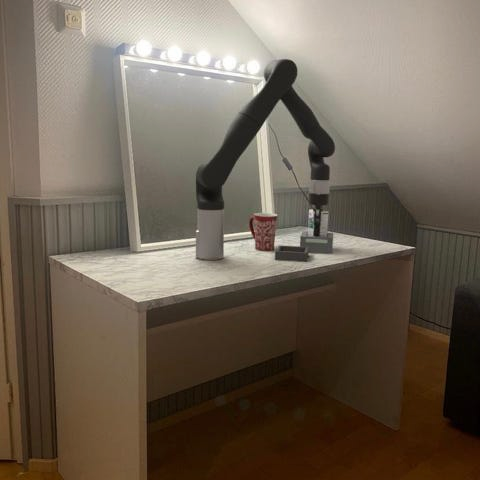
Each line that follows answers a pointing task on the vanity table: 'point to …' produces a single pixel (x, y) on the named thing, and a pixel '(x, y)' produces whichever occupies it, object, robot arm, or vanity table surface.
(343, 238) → the vanity table surface
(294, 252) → the dark grey tray
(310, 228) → the syrup box
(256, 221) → the mug
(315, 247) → the port
